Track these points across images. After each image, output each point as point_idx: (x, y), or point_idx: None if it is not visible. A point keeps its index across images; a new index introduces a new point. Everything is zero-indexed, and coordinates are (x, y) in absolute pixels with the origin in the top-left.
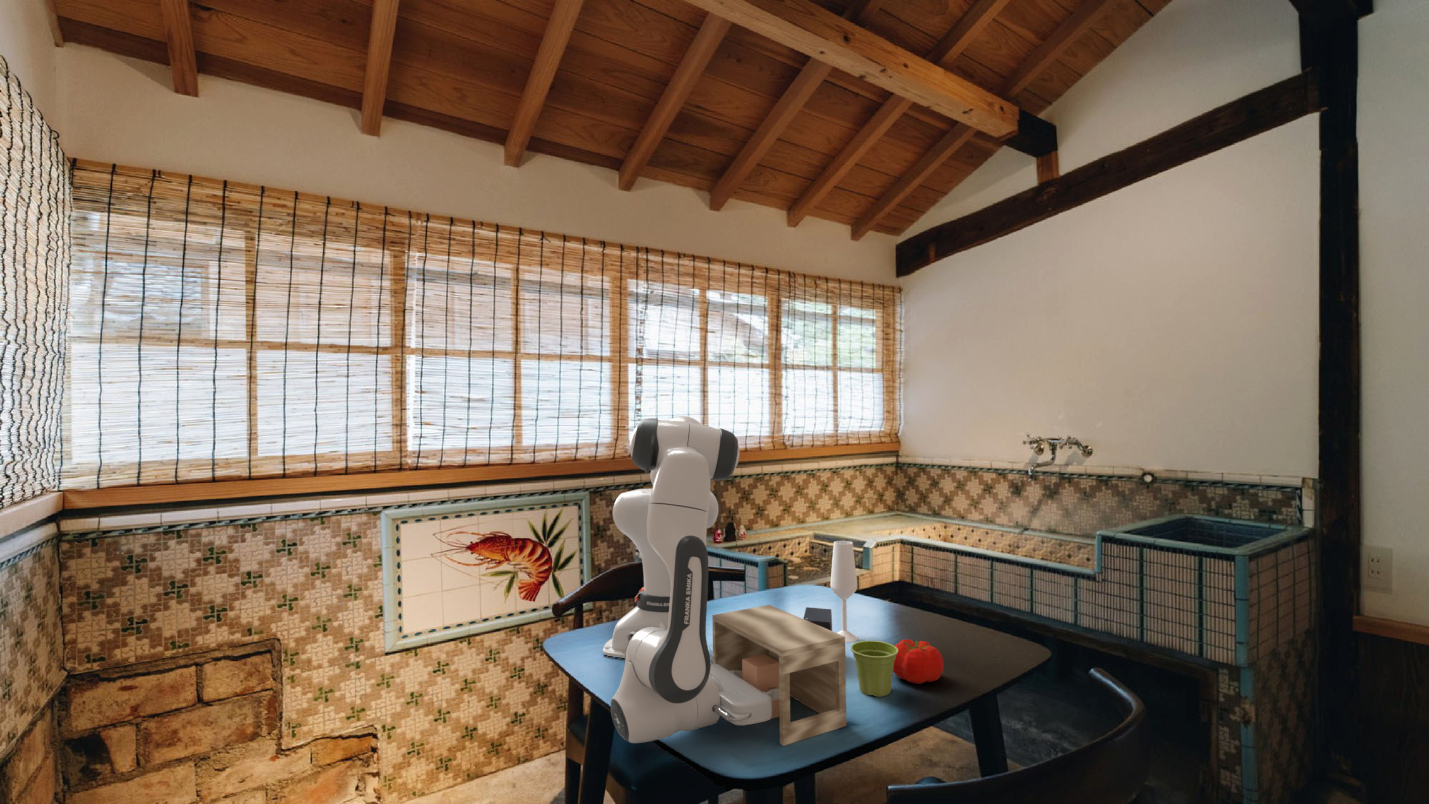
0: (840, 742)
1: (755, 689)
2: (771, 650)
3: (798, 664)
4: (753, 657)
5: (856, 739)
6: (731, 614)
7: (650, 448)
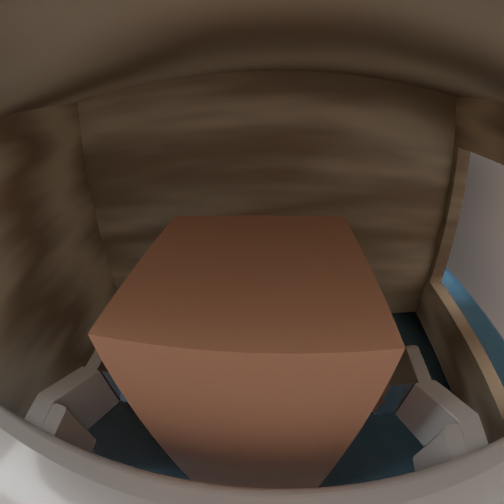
0: (484, 340)
1: (480, 475)
2: None
3: None
4: (154, 263)
5: (473, 313)
6: None
7: None
